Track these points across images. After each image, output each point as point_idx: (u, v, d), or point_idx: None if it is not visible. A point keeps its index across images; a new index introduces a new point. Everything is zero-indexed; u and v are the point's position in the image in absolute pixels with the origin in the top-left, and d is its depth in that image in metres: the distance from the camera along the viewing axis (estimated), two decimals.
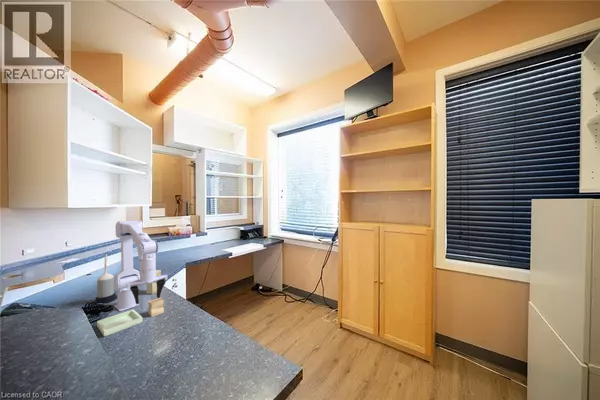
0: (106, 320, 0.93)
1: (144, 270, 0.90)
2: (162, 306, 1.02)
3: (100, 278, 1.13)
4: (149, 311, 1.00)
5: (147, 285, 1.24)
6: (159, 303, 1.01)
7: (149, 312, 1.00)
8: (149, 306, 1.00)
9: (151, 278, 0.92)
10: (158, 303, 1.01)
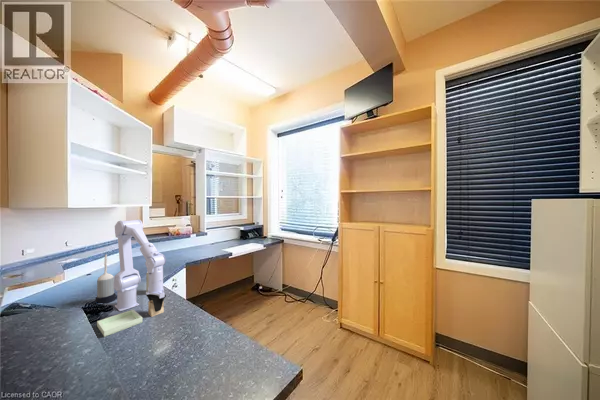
0: (106, 320, 0.93)
1: (155, 282, 0.99)
2: (162, 306, 1.02)
3: (100, 278, 1.13)
4: (149, 311, 1.00)
5: (147, 285, 1.24)
6: None
7: (149, 312, 1.00)
8: (149, 306, 1.00)
9: (149, 290, 0.99)
10: None
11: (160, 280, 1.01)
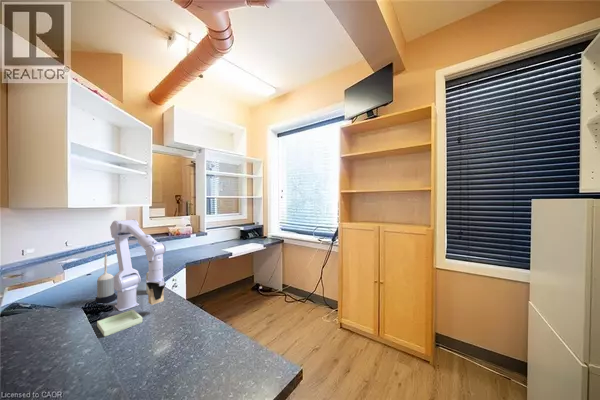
0: (106, 320, 0.93)
1: (155, 270, 1.00)
2: (161, 295, 1.02)
3: (100, 278, 1.13)
4: (149, 299, 1.00)
5: None
6: None
7: (149, 300, 1.00)
8: (149, 294, 1.00)
9: (149, 278, 0.99)
10: None
11: (160, 268, 1.01)
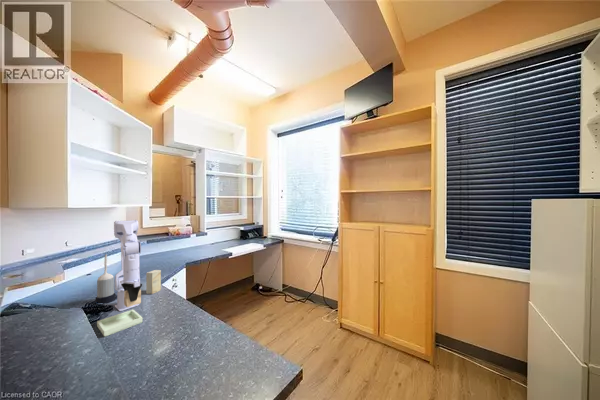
0: (106, 320, 0.93)
1: (126, 270, 0.93)
2: (139, 296, 0.96)
3: (100, 278, 1.13)
4: (125, 301, 0.94)
5: (147, 285, 1.24)
6: None
7: (125, 302, 0.94)
8: (125, 296, 0.94)
9: (124, 279, 0.93)
10: None
11: (132, 269, 0.94)
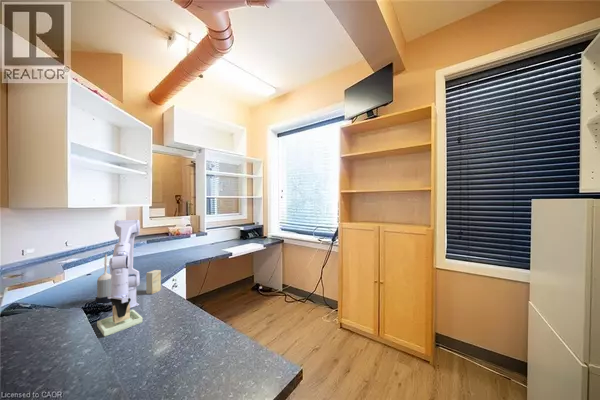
0: (106, 320, 0.93)
1: (113, 285, 0.90)
2: (127, 312, 0.93)
3: (100, 278, 1.13)
4: (113, 317, 0.91)
5: (147, 285, 1.24)
6: None
7: (113, 318, 0.91)
8: (113, 311, 0.91)
9: (112, 294, 0.90)
10: None
11: (119, 284, 0.91)
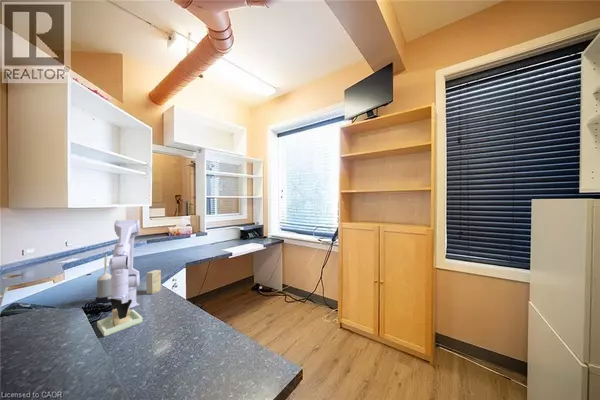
0: (106, 320, 0.93)
1: (113, 285, 0.90)
2: (127, 315, 0.93)
3: (100, 278, 1.13)
4: (113, 320, 0.91)
5: (147, 285, 1.24)
6: None
7: (113, 322, 0.91)
8: (113, 315, 0.91)
9: (112, 294, 0.90)
10: None
11: (119, 284, 0.91)
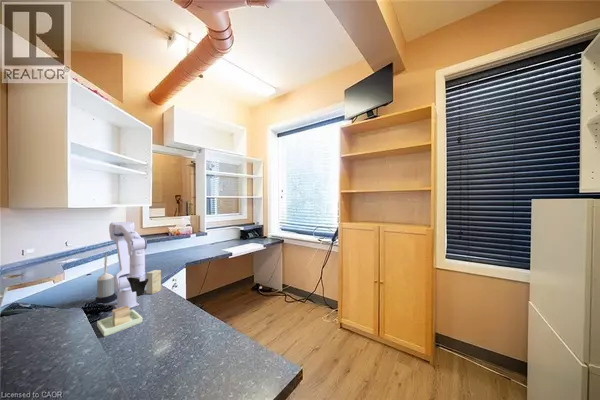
0: (106, 320, 0.93)
1: (133, 265, 0.97)
2: (127, 315, 0.93)
3: (100, 278, 1.13)
4: (113, 320, 0.91)
5: (147, 285, 1.24)
6: (124, 311, 0.92)
7: (113, 322, 0.91)
8: (113, 315, 0.91)
9: (130, 274, 0.97)
10: (123, 311, 0.92)
11: (139, 264, 0.99)
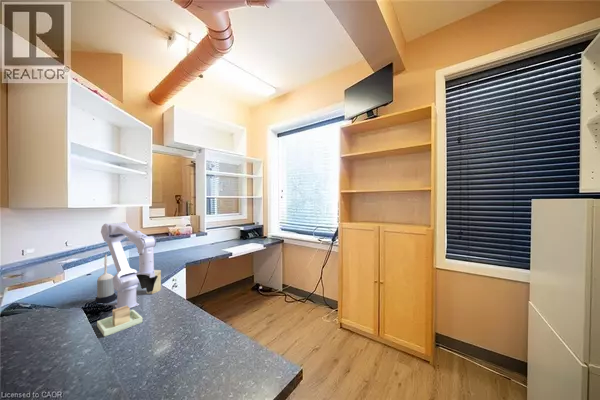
0: (106, 320, 0.93)
1: (145, 262, 1.02)
2: (127, 315, 0.93)
3: (100, 278, 1.13)
4: (113, 320, 0.91)
5: None
6: (124, 311, 0.92)
7: (113, 322, 0.91)
8: (113, 315, 0.91)
9: (140, 271, 1.01)
10: (123, 311, 0.92)
11: (150, 261, 1.03)
